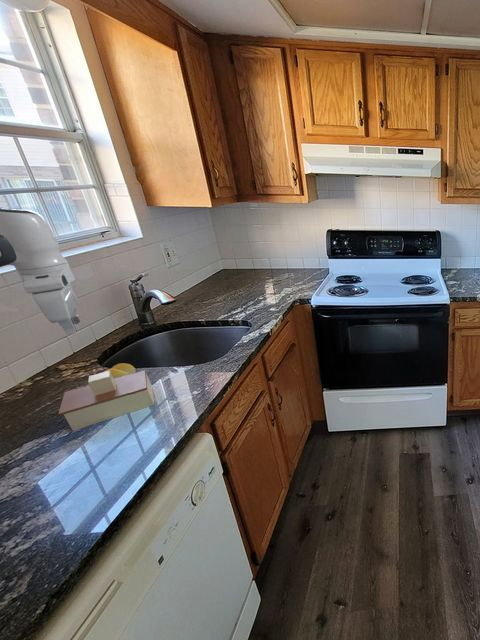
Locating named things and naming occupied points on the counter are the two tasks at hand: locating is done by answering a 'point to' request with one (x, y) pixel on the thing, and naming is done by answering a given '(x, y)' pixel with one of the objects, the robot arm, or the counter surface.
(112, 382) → the tan block
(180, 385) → the counter surface
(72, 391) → the cover
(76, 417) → the case
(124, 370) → the yellow rounded lump
